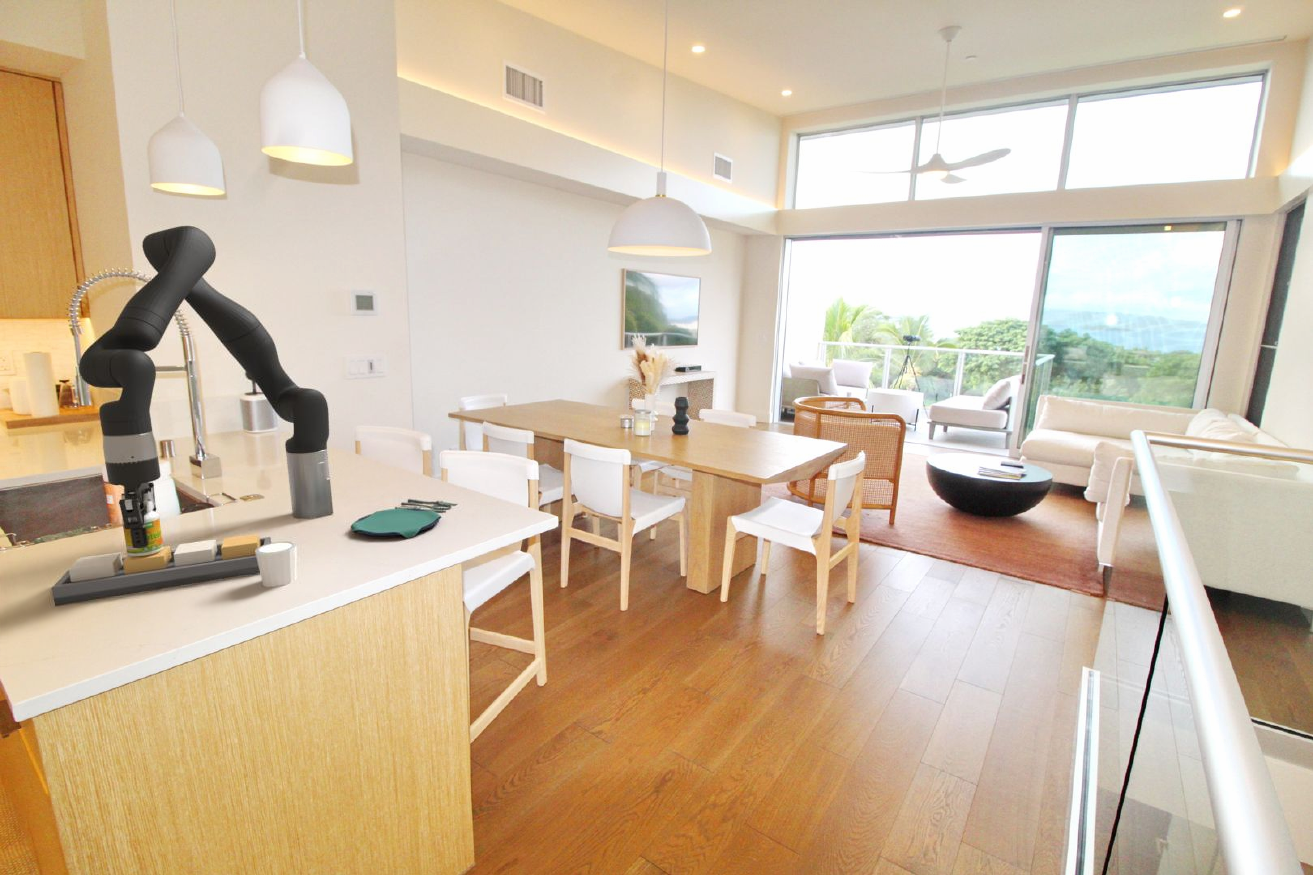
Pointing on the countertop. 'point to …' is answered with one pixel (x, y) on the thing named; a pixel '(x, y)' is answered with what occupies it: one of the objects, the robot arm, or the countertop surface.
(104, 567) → the key
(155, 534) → the supplement bottle
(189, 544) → the key
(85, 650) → the countertop surface
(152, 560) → the key
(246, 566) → the keypad base
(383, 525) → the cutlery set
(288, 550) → the white cup
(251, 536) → the key
